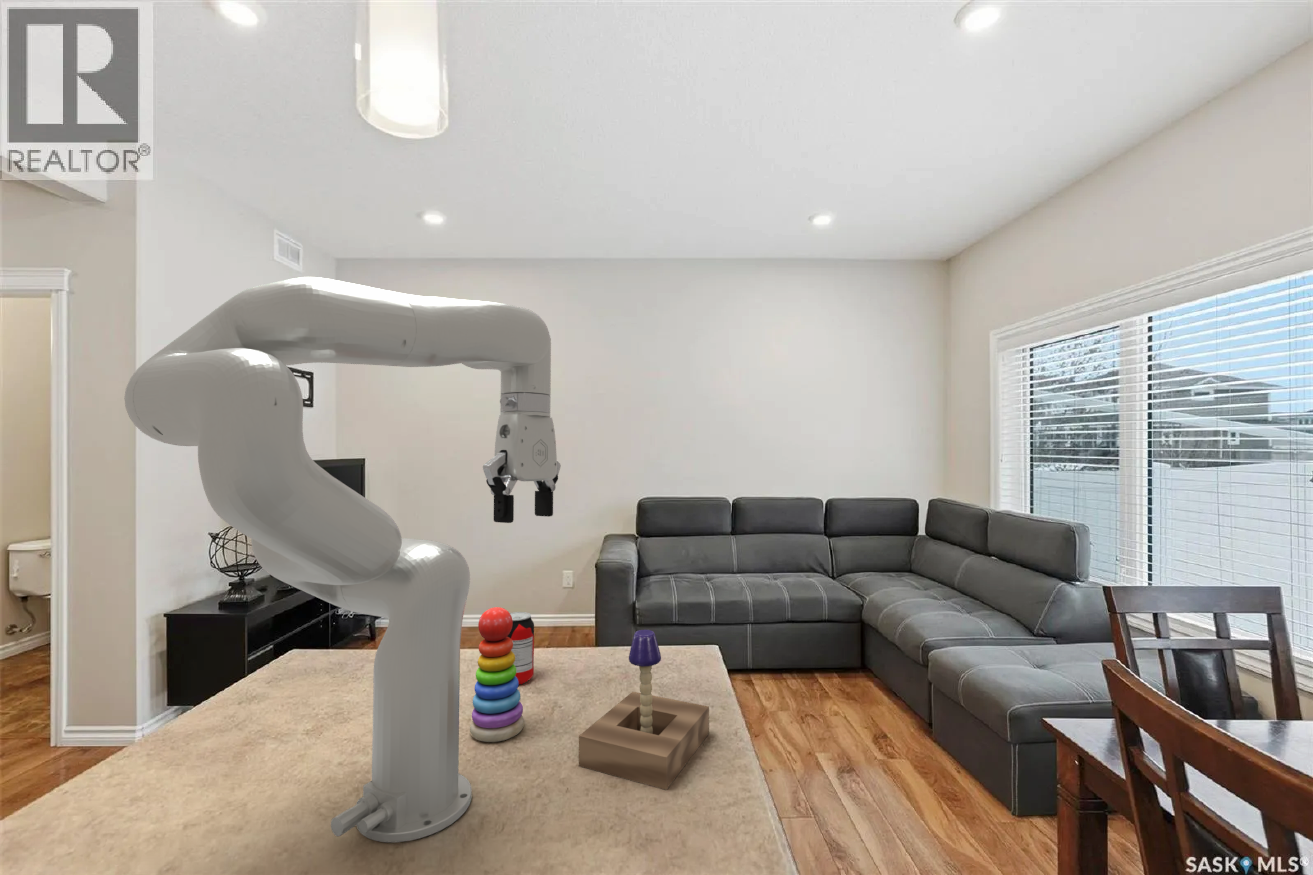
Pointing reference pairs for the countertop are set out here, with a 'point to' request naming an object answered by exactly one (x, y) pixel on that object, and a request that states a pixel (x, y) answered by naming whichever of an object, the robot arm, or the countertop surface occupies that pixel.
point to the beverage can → (523, 645)
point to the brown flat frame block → (645, 740)
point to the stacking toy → (496, 681)
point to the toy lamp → (645, 672)
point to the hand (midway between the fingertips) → (524, 519)
